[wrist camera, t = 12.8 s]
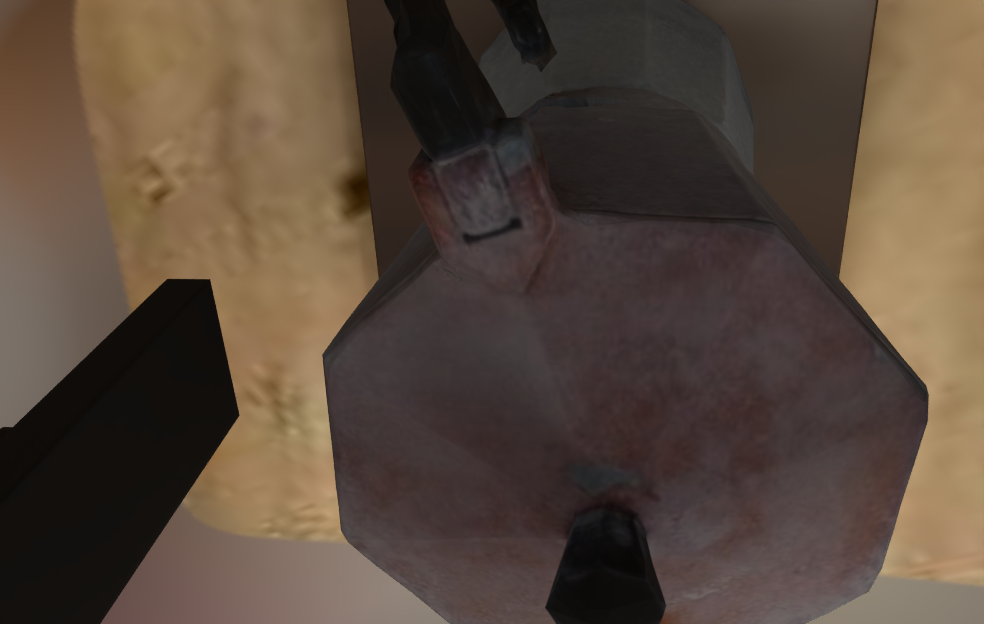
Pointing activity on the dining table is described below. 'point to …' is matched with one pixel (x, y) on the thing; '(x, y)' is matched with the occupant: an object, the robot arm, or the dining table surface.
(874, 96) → the dining table surface
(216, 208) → the dining table surface
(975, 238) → the dining table surface
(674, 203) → the moka pot
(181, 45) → the dining table surface
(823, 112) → the walnut trivet
